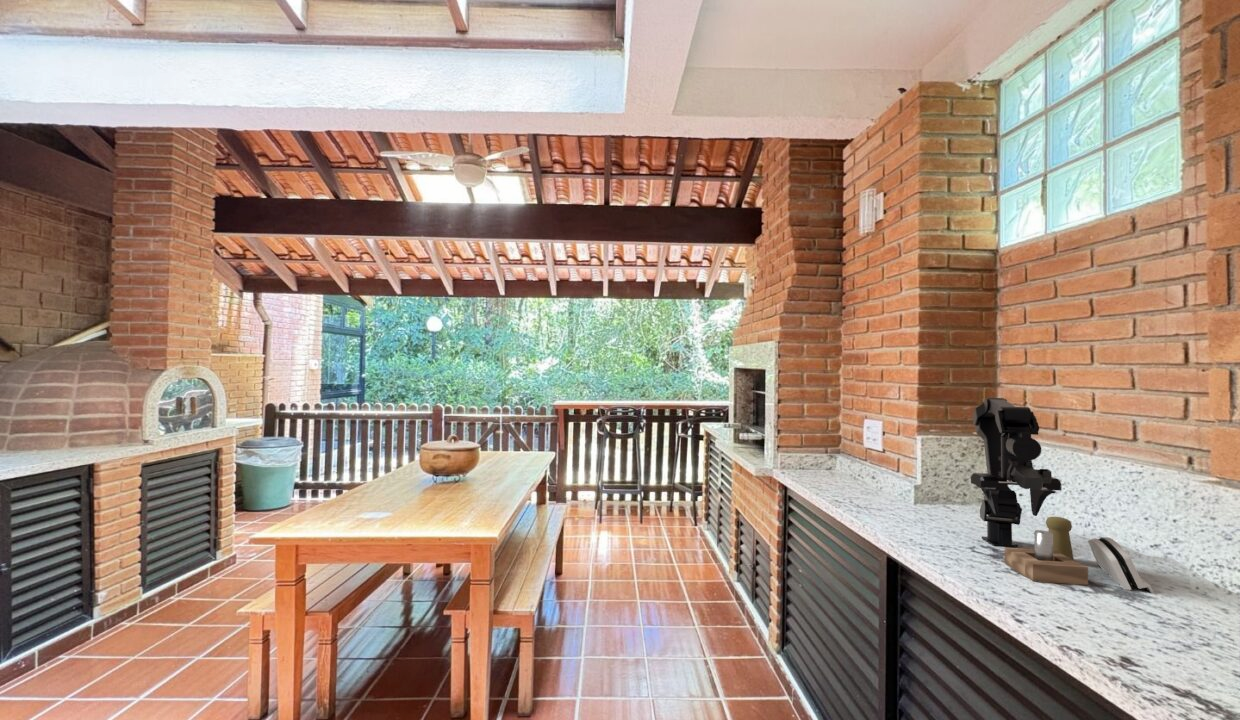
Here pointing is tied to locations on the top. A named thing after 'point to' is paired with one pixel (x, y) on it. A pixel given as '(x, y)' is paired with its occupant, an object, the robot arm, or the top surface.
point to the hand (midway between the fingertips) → (1015, 514)
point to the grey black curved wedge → (1117, 563)
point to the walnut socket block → (1046, 567)
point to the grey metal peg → (1043, 545)
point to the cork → (1060, 535)
